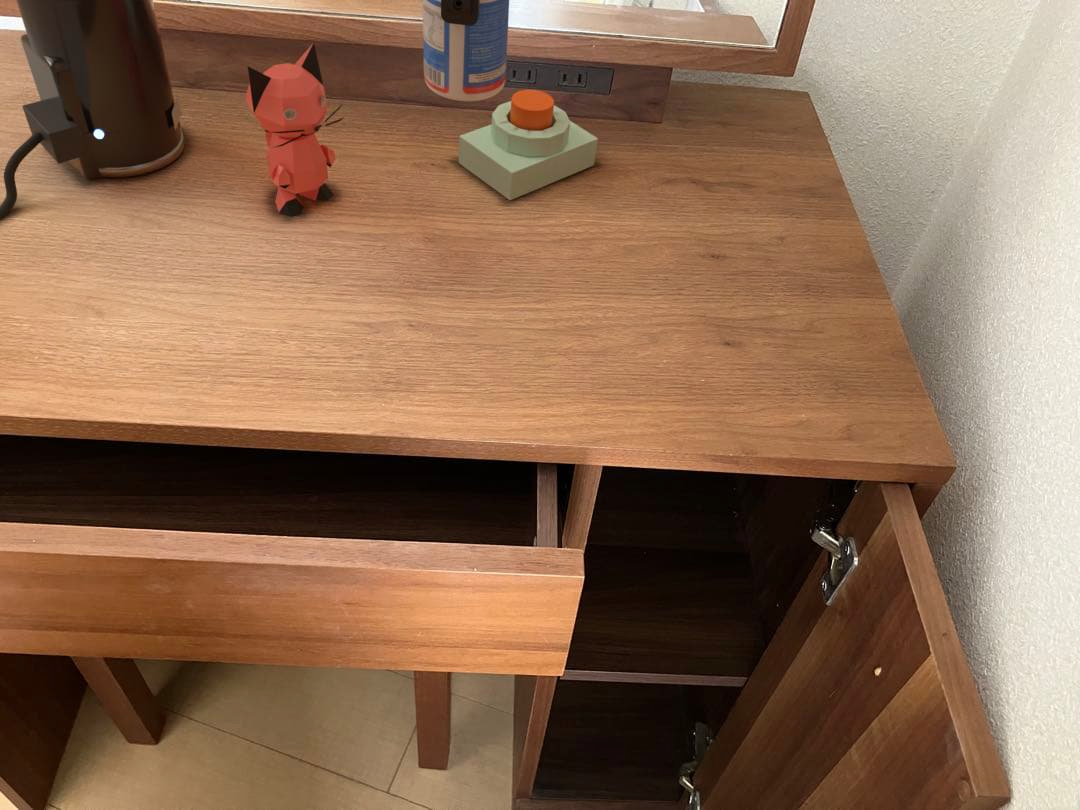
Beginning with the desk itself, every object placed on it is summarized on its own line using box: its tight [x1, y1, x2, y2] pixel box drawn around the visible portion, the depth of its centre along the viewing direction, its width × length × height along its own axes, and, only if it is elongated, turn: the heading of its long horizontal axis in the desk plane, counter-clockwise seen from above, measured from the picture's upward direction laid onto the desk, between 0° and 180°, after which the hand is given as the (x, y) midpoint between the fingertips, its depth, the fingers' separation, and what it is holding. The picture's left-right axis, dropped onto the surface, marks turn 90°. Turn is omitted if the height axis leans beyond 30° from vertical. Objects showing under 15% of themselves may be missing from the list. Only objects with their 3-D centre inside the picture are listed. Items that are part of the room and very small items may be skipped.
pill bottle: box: [421, 0, 510, 102], centre depth 56 cm, size 6×5×10 cm
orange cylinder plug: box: [510, 89, 555, 131], centre depth 76 cm, size 4×4×2 cm
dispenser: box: [458, 100, 599, 201], centre depth 78 cm, size 10×7×4 cm
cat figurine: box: [244, 42, 345, 217], centre depth 69 cm, size 7×7×12 cm
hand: (466, 0), depth 56 cm, fingers closed on pill bottle, 5 cm apart
